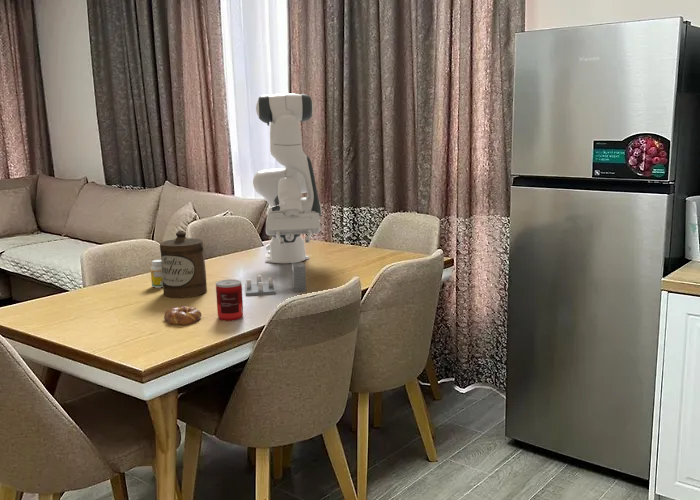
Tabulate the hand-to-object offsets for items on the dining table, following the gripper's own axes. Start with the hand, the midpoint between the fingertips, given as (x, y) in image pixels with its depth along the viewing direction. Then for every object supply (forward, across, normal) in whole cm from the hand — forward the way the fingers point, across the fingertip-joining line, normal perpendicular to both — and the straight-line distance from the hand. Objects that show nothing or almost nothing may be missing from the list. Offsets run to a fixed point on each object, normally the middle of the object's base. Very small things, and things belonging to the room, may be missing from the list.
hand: (294, 242), depth 248 cm
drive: (+19, 0, -2) cm, 19 cm away
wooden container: (+15, +39, -7) cm, 43 cm away
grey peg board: (+17, +14, -4) cm, 22 cm away
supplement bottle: (+6, +49, -15) cm, 52 cm away
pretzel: (+39, +38, +17) cm, 57 cm away
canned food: (+40, +24, +18) cm, 49 cm away
